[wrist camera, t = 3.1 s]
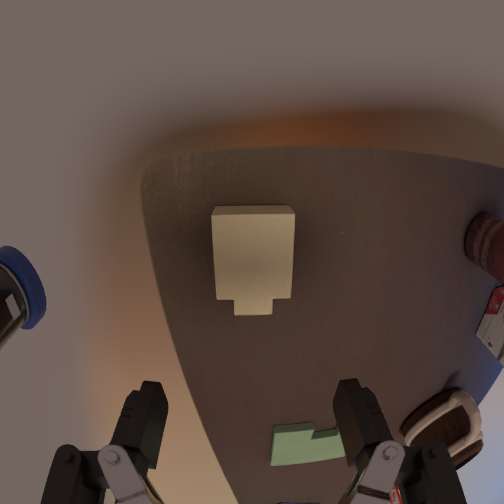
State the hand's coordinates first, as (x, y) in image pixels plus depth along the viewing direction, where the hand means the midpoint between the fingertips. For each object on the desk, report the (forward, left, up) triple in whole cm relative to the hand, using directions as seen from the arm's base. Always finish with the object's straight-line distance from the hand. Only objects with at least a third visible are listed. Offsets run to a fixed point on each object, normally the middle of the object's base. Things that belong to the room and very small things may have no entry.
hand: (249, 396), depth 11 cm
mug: (+36, -31, -14) cm, 49 cm away
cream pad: (+1, +1, -14) cm, 14 cm away
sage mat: (+12, -33, -14) cm, 38 cm away
